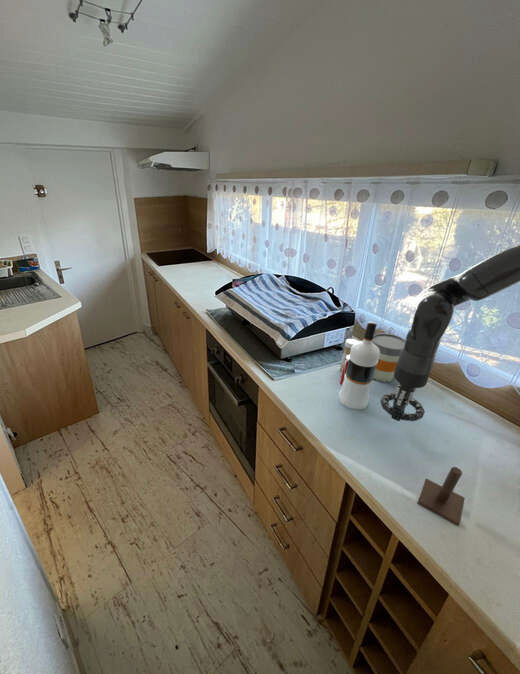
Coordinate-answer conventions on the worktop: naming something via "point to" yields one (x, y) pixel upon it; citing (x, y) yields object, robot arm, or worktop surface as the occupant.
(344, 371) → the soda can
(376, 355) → the vodka
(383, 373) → the reusable coffee cup
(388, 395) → the ring
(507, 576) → the worktop surface
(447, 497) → the post
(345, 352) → the sprinkles bottle
